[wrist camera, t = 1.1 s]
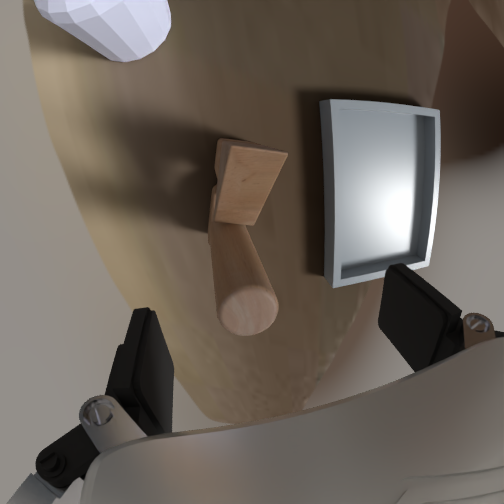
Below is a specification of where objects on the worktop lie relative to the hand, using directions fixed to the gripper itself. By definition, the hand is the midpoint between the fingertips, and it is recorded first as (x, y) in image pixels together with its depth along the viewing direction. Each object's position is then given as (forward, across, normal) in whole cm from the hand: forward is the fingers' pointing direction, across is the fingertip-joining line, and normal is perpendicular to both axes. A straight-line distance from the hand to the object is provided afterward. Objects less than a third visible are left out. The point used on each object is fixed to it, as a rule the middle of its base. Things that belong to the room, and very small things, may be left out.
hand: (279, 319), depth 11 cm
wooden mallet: (+23, 0, -1) cm, 23 cm away
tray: (+22, -19, +1) cm, 30 cm away
